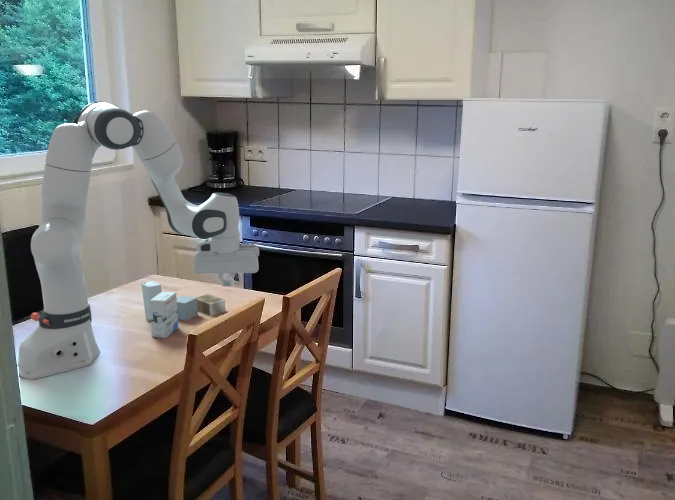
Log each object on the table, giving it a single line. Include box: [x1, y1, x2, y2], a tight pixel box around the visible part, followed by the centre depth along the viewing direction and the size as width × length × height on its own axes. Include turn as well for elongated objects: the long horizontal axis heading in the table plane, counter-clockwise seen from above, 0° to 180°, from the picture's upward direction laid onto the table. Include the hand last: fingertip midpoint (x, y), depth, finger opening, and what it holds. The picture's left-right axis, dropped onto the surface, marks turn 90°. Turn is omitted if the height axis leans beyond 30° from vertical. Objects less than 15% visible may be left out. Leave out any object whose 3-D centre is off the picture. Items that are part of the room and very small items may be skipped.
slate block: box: [176, 294, 199, 322], centre depth 204 cm, size 6×6×6 cm
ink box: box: [150, 291, 179, 339], centre depth 190 cm, size 9×5×12 cm, turn 168°
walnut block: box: [196, 293, 226, 316], centre depth 210 cm, size 6×4×9 cm
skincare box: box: [141, 280, 163, 322], centre depth 201 cm, size 6×4×12 cm
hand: (227, 285), depth 201 cm, fingers closed
